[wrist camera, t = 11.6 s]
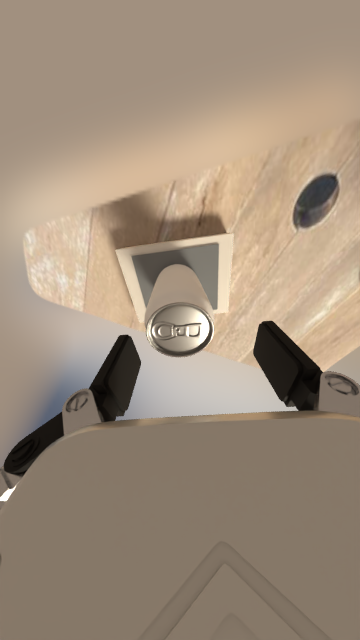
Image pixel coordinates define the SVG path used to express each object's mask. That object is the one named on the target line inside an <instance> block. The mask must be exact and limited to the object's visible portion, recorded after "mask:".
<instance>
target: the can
mask: <svg viewBox="0 0 360 640" xmlns="http://www.w3.org/2000/svg"><path fill="white" fill-rule="evenodd" d="M144 322H145V327H146V336H147V339H148V341H149V343H150V344H151V345H152V347H153V348H155V349H156V350H157V351H158V352H160V353H162V354H164V355H167V356H171V357H187V356H191V355H194V354H196V353H198V352H200V351H202V350H203V349H204V348H206V347H207V346H208V344H209V343H210V342H211V340H212V337H213V334H214V312H213V309H212V306H211V304H210V302H209V300H208V298H207V296H206V294H205V291H204V289H203V287H202V285H201V283H200V281H199V279H198V277H197V276H196V274H195V273H194V271H193V270H192V269H190V268H189V267H187V266H185V265H181V264H174V265H170V266H168V267H166V268H165V269H163V270H162V271H161V273H160V274H159V276H158V278H157V280H156V283H155V285H154V288H153V291H152V294H151V297H150V299H149V302H148V305H147V308H146V312H145V318H144Z"/></svg>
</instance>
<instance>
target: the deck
mask: <svg viewBox="0 0 360 640" xmlns="http://www.w3.org/2000/svg"><path fill="white" fill-rule="evenodd" d="M233 239H234V233H222V234H215V235H208V236H201V237H194V238H187V239H180V240H173V241H166V242H159V243H152V244H145V245H138V246H131V247H124V248H120V249H117V250H115V251H116V254H117V257H118V260H119V263H120V266H121V269H122V272H123V275H124V278H125V281H126V284H127V287H128V290H129V293H130V296H131V299H132V302H133V305H134V308H135V311H136V314H137V317H138V320H139V323H143V322H144V318H145V312H146V308H147V305H148V302H149V299H150V297H151V294H152V291H153V288H154V285H155V283H156V280H157V278H158V276H159V274H160V273H161V271H162V270H163V269H165V268H166V267H168V266H170V265H174V264H181V265H185V266H187V267H189V268H190V269H192V270H193V271H194V273H195V274H196V276H197V277H198V279H199V281H200V283H201V285H202V287H203V289H204V291H205V294H206V296H207V298H208V300H209V302H210V304H211V306H212V309H213V312H214V314H218V313H226V312H228V308H229V294H230V280H231V266H232V253H233Z"/></svg>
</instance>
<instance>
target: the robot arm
mask: <svg viewBox="0 0 360 640" xmlns="http://www.w3.org/2000/svg"><path fill="white" fill-rule="evenodd" d="M253 354H254V356H255V358H256V360H257V362H258V363H259V365H260V367H261V368H262V370H263V371H264V373H265V375H266V377H267V379H268V380H269V382H270V384H271V385H272V387H273V389H274V391H275V392H276V394H277V396H278V397H279V399H280V400H281V401H283V402H284V403H285V405H286V406H287V407H291V406H292V407H294V406H296V408H297V409H298V411H283V412H282V411H281V412H259V413H239V414H219V415H202V416H201V415H200V416H182V417H165V418H149V419H134V420H120V421H115V419H116V416H124V413H125V411H126V410H127V409H128V407H129V403H130V400H131V397H132V393H133V390H134V386H135V383H136V379H137V376H138V373H139V369H140V366H141V361H140V358H139V355H138V353H137V350H136V348H135V345H134V343H133V340H132V338H131V337H130V336H128V335H120V336H119V337H118V339H117V341H116V342H115V344H114V346H113V347H112V349H111V351H110V353H109V354H108V356H107V358H106V360H105V361H104V363H103V365H102V367H101V368H100V370H99V372H98V374H97V375H96V377H95V379H94V380H93V382H92V384H91V386H90V387H89V389H82V390H79V391H77V392H75V393H74V394H72V395H71V396H70V397H69V398H68V399H67V401H66V402H65V403H64V406H63V409H62V412H61V413H60V414H58V415H57V416H55V417H54V418H53V419H51V420H49V421H48V422H47V423H45V424H44V425H42V426H41V427H39V428H38V429H37V430H35V431H34V432H32V433H31V434H29V435H28V436H26V437H25V438H24V439H22V440H21V441H20V442H19V443H18V444H17V445H16V446H15V447H14V448H13V449H12V451H11V452H10V453H9V455H8V456H7V458H6V460H5V463H4V466H2V467H1V468H0V640H360V385H359V384H358V383H356V382H355V381H354V380H353V379H351V378H349V377H347V376H345V375H343V374H340V373H337V372H331V371H327V372H324V373H323V372H322V371H321V370H320V367H318V366H317V365H316V364H315V363H314V362H313V361H312V360H311V359H310V358H309V357H308V356H307V355H306V354H305V353H304V352H303V351H302V350H301V349H300V348H299V347H298V346H297V345H296V344H295V343H294V342H293V341H292V340H291V339H290V338H289V337H288V336H287V335H286V334H285V333H284V332H283V331H282V330H281V329H280V328H279V327H278V326H277V325H276V324H275V323H274V322H273V321H263V322H262V323H261V324H259V327H258V332H257V337H256V341H255V346H254V350H253Z"/></svg>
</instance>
